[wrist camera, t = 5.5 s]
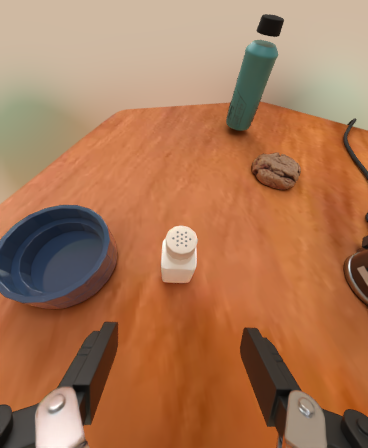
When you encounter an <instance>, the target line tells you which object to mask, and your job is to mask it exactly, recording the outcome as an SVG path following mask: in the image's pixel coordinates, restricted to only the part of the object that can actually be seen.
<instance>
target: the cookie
mask: <svg viewBox="0 0 368 448" xmlns="http://www.w3.org/2000/svg"><path fill="white" fill-rule="evenodd" d="M252 167H253V168H252V173H254V174H255V175H256V177H257V179H258V180H259V181H260V182H261V183H262V184H264V185H267V186H269V187H273V188H277V189H279V190H284V189H286V190H287V189H289V188H290V187H293V186H294V184H295V183H296V181H297V180H298V177H299V176H300V172H301V169H300V166H299V164H298V163H297V162H296V161H294V160H293V159H292V158H290V157H289V156H286V155H284V154H282V155H281V156H280V155H279V153H273V154H261V155H260V156H258V157H257V158H256V159H255V160H254V162H253V164H252Z"/></svg>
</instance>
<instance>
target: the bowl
mask: <svg viewBox="0 0 368 448" xmlns="http://www.w3.org/2000/svg"><path fill="white" fill-rule="evenodd" d="M116 259H117V248H116V242H115V240H114V238H113V236H112V234H111V232H110V230H109V228H108V226H107V225H106V223H105V222H104V220H103V219H102V217H101V216H100V215H98V214H97V213H95V212H94V211H93V210H91V209H88V208H85V207H82V206H78V205H59V206H54V207H49V208H45V209H42V210H40V211H38V212H35V213H33V214H30V215H28V216H27V217H25V218H24V219H22V220H21V221H19V222H18V223H16V224H15V225H14V226H13V227H12V228H11V229H10V230H9V231H8V232H7V233H6V234H5V235H4V236H3V237H2V239H1V240H0V293H1V294H2V295H3V296H4V297H6V298H9V299H12V300H15V301H18V302H21V303H24V304H28V305H32V306H36V307H40V308H44V309H63V308H67V307H70V306H73V305H76V304H79V303H81V302H83V301H85V300H86V299H88V298H89V297H91V296H92V295H94V294H95V293H96V292H98V291H99V290H100V288H101V287H102V286H103V285H104V284H105V283H106V282H107V281H108V279H109V278H110V276H111V274H112V272H113V270H114V268H115V265H116Z"/></svg>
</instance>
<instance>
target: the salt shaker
mask: <svg viewBox="0 0 368 448" xmlns="http://www.w3.org/2000/svg"><path fill="white" fill-rule="evenodd" d="M197 241H198V239H197V236H196V233H195V232H194V231H193V230H192V229H190V228H189V227H185V226H177V227H174V228H172V229H171V230H170V231H168V233H167V236H166V239H164V241H163V246H162V259H161V274H162V280H163V281H164V282H169V283H188V282H190V280H191V278H192V275H193V273H194V271H195V269H196V266H197V252H196V245H197Z"/></svg>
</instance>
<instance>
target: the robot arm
mask: <svg viewBox="0 0 368 448" xmlns="http://www.w3.org/2000/svg"><path fill="white" fill-rule="evenodd" d="M355 121H356V119H353V120H351V121H350V122H349V123H348V124H347V125H349V127H348V128H347V130H346V132H345V134H344V144H345V147H346V149H347V150H348V152H349V154H350V155H351V157H352V159H353V160H354V162H355V163H356V164H357V165H358V167H359V168H360V169H361V171H362V172H363V173H364V175H365V176H366V178H367V180H368V171H367V170H366V169H365V167H364V166H363V165H362V164H361V162H360V161H359V160H358V158H357V157H356V155H355V154H354V152H353V151H352V149H351V147H350V146H349V143H348V140H347V135H348V133H349V131H350V129H351V127H352V126H353V124H354V123H355ZM366 221H367V222H368V213H367V215H366ZM362 247H363V248H361V249H358V250H357V253H356V254H353V255H351V256H349V257H348V258H347V259H346V261H345V264H344V272H345V276H346V279H347V281H348V283H349V285H350V287H351V288H352V290H353V291H354V293H355V294H356V295H357V296H358V297H359V298H360V299H361V300H362V301H363V302H364V303H365V304H366V305H368V236H366V237H364V238H363V241H362ZM117 347H118V322H104V324H103V326H102V328H101V330H100V331H93V332H92V333H91V334H90V335H89V336H88V337H87V338H86V339H85V341H84V343H83V344H82V346H81V349H80V350H79V351H78V353H77V356H76V357H75V358H74V360H73V362H72V363H71V365H70V367H69V369H68V370H67V372H66V374H65V375H64V377H63V379H62V381H61V382H60V384H59V386H58V387H57V388H56V389H55V390H53V391H52V392H50V393H49V394H48V395H47V396H45V398H44V399H43V400H42V401H41V402H40V403H38V404H36V405H33V406H30V407H27V408H24V409H21V410H18V411H15V412H12V410H11V408H10V406H8V405H0V448H89V445H88V442H87V441H86V439H85V435H84V430H83V426H84V425H91V423H92V421H93V418H94V415H95V412H96V409H97V406H98V403H99V401H100V398H101V395H102V392H103V389H104V386H105V384H106V381H107V378H108V375H109V372H110V369H111V367H112V364H113V361H114V358H115V355H116V352H117ZM240 353H241V358H242V361H243V363H244V366H245V369H246V371H247V374H248V377H249V379H250V382H251V385H252V387H253V390H254V393H255V395H256V398H257V401H258V403H259V406H260V408H261V411H262V414H263V416H264V419H265V422H266V424H267V427H276V429H277V431H278V438H277V445H276V448H368V417H367V416H365V415H364V414H362V413H360V412H358V411H356V410H352V409H348V410H346V411H345V412H344V415H343V416H340V415H338V414H335V413H332V412H330V411H327V410H324V409H322V408H321V407H320V406H319V405H318V403H317V402H316V401H315V400H314V399H313V398H312V397H310V396H309V395H308V394H306V393H304V392H302V391H301V389H300V387H299V386H298V384H297V382H296V381H295V379H294V377H293V376H292V374H291V373H290V371H289V369H288V368H287V366H286V364H285V363H284V362H283V359H282V358H281V356H280V355H279V353H278V351H277V350H276V348H275V346H274V345H273V344H272V343H271V342H270V341H269V340H268V339H267V338H263V337H262V336H261V334H260V332H259V330H258V329H257V328H244V330H243V335H242V341H241V346H240Z"/></svg>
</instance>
